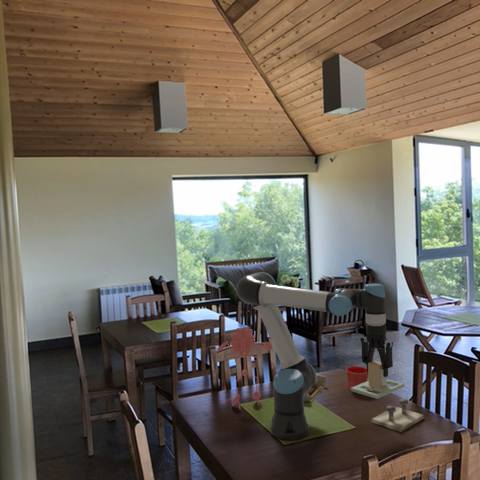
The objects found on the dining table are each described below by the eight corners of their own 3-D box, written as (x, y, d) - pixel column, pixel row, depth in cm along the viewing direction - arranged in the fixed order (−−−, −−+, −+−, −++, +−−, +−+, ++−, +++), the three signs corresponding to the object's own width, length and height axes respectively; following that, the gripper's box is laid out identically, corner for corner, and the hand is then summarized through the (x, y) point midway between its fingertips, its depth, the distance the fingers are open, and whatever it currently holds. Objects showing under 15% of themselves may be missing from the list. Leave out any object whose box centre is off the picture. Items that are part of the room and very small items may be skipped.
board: (371, 422, 201) (371, 405, 200) (395, 409, 213) (394, 394, 212) (400, 432, 191) (400, 414, 191) (423, 418, 203) (423, 402, 203)
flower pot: (371, 387, 241) (371, 367, 240) (364, 394, 231) (364, 374, 231) (350, 384, 246) (350, 364, 246) (343, 390, 237) (342, 371, 236)
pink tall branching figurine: (277, 403, 223) (274, 327, 222) (223, 413, 214) (219, 333, 213) (263, 393, 237) (261, 321, 236) (212, 402, 228) (209, 327, 227)
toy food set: (292, 382, 253) (292, 367, 252) (326, 387, 244) (326, 371, 244) (272, 398, 230) (272, 382, 230) (309, 404, 222) (309, 388, 221)
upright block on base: (350, 390, 191) (350, 364, 190) (378, 379, 202) (377, 355, 202) (377, 398, 181) (376, 371, 181) (404, 386, 193) (403, 361, 192)
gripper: (402, 325, 186) (403, 386, 187) (362, 319, 200) (364, 375, 201) (390, 328, 181) (392, 391, 182) (350, 322, 195) (352, 380, 196)
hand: (377, 382), depth 192 cm, fingers closed on upright block on base, 5 cm apart
